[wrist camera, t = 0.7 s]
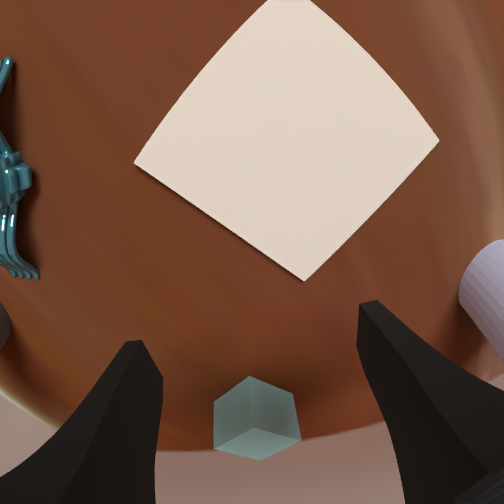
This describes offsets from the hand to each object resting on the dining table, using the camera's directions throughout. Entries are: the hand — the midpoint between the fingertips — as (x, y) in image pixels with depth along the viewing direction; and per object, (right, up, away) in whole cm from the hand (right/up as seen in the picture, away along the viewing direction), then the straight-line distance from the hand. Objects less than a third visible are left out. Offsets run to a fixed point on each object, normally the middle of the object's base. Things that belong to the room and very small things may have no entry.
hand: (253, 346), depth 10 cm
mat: (+2, +9, +5) cm, 10 cm away
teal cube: (0, -10, +16) cm, 19 cm away
